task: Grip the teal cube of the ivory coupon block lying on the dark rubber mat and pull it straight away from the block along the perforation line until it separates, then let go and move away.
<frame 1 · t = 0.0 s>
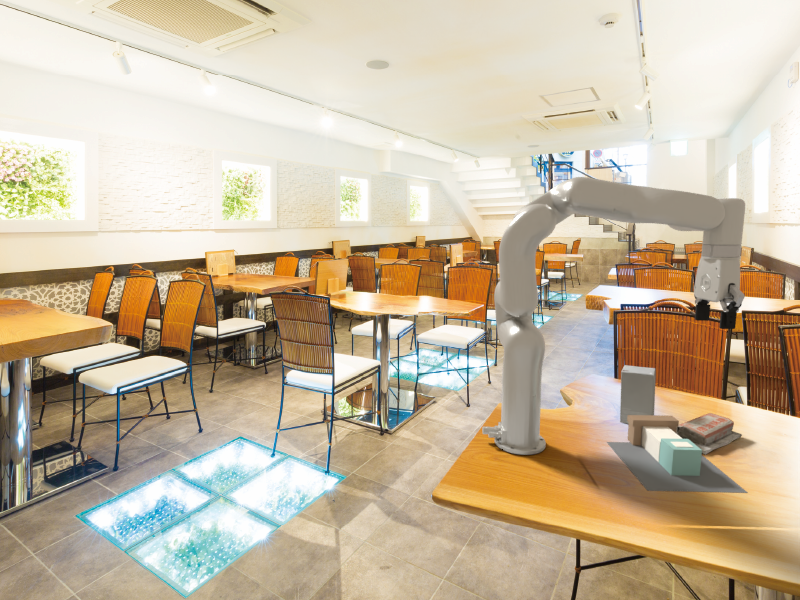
hand: (713, 324, 110), 31 cm above the table, tool pointing down, fingers open, 9 cm apart
mat: (669, 466, 105), on the table
skincare box: (635, 423, 129), on the table
packaged product: (702, 440, 118), on the table, touching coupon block, mat
teal cube: (679, 456, 103), point 3 cm above the table, slide at 0.0 cm
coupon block: (658, 450, 112), resting on mat
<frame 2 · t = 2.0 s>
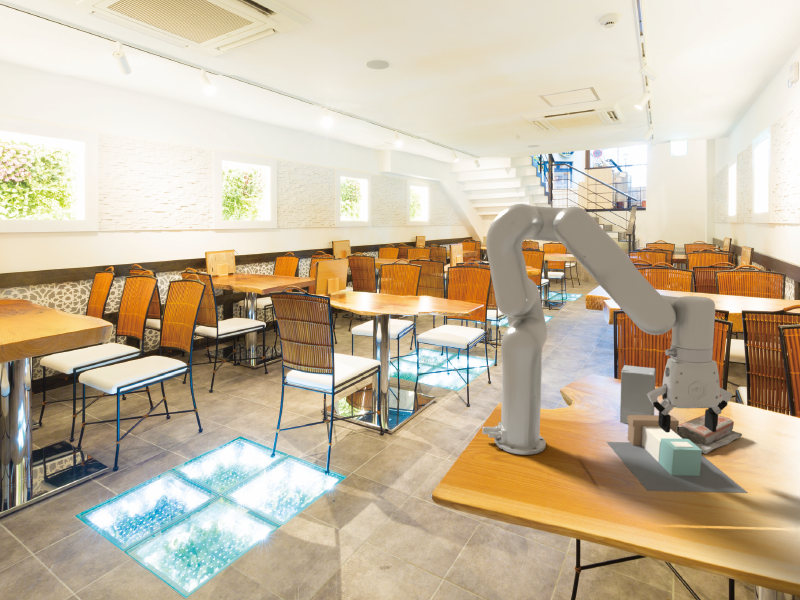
hand: (687, 429, 101), 10 cm above the table, tool pointing down, fingers open, 9 cm apart
packaged product: (703, 439, 118), on the table, touching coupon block, mat
everything else where it was.
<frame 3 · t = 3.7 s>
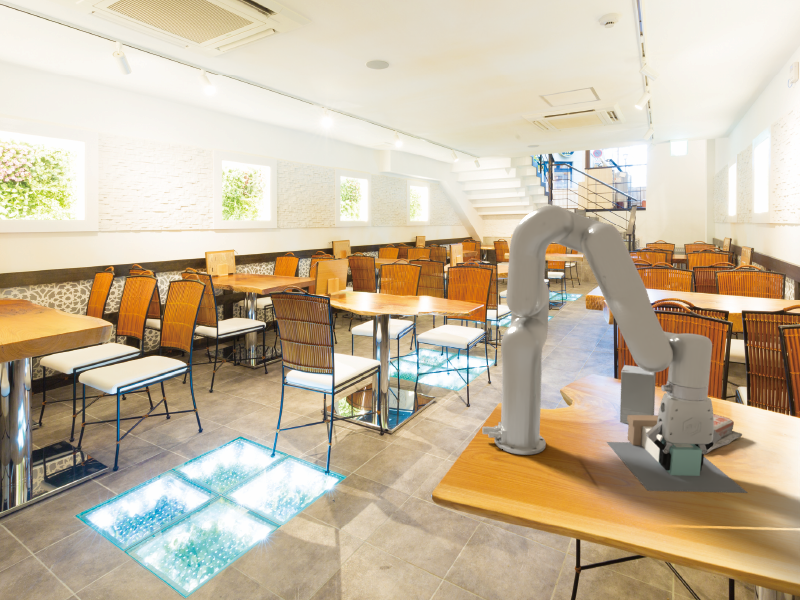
hand: (680, 467, 103), 1 cm above the table, tool pointing down, fingers closed on teal cube, 6 cm apart
teal cube: (679, 456, 103), point 3 cm above the table, slide at 0.0 cm, touching gripper
everything else where it was.
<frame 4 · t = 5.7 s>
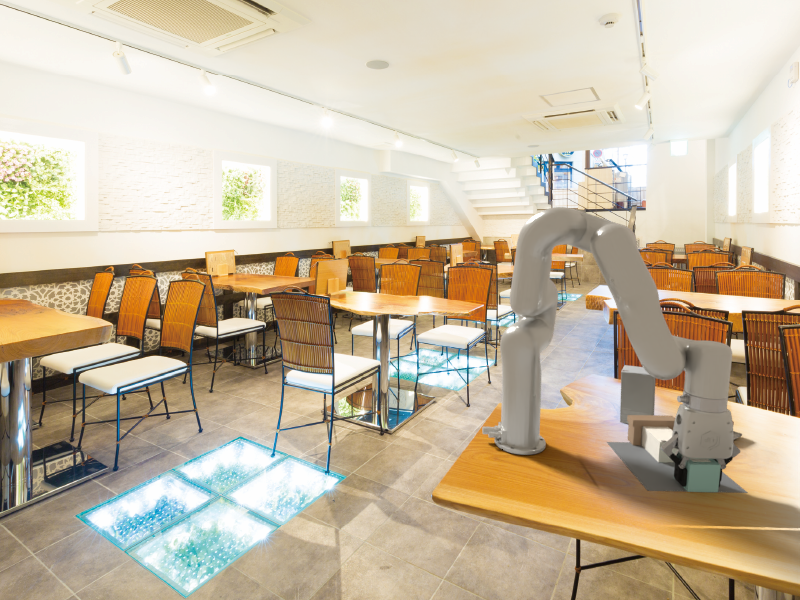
hand: (696, 482, 96), 1 cm above the table, tool pointing down, fingers closed on teal cube, 6 cm apart
teal cube: (696, 471, 97), point 3 cm above the table, slide at 6.4 cm, touching gripper
everything else where it was.
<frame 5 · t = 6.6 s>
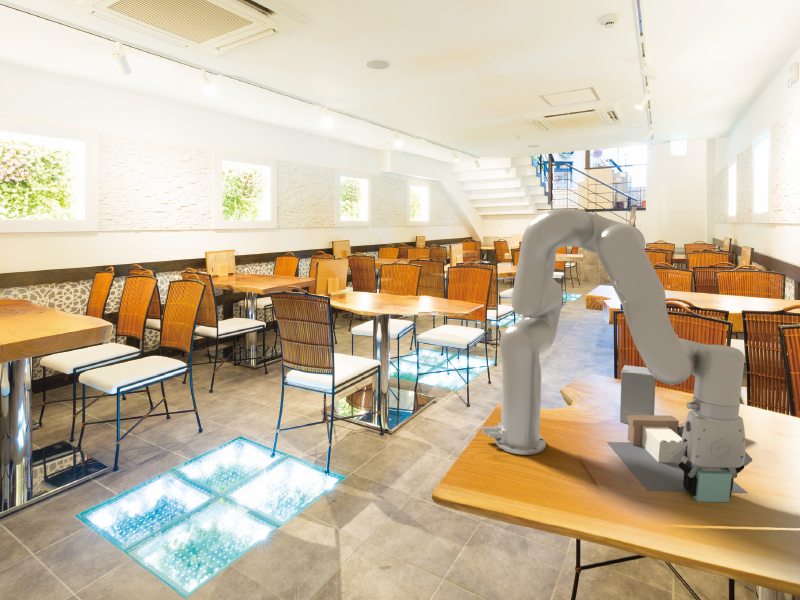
hand: (706, 491, 93), 1 cm above the table, tool pointing down, fingers closed on teal cube, 6 cm apart
teal cube: (706, 480, 93), point 3 cm above the table, slide at 9.9 cm, touching gripper
everything else where it was.
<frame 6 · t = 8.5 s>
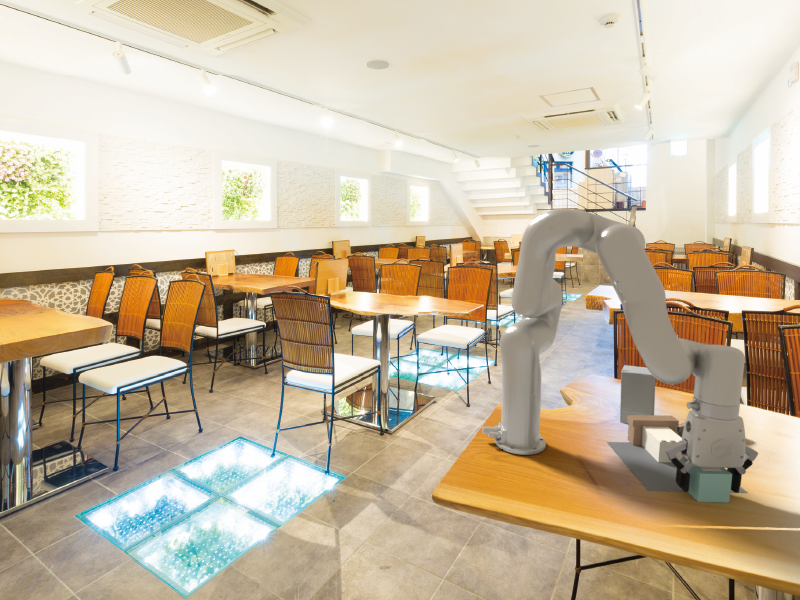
hand: (707, 488, 93), 2 cm above the table, tool pointing down, fingers open, 9 cm apart
teal cube: (706, 480, 93), point 3 cm above the table, slide at 10.0 cm
everything else where it was.
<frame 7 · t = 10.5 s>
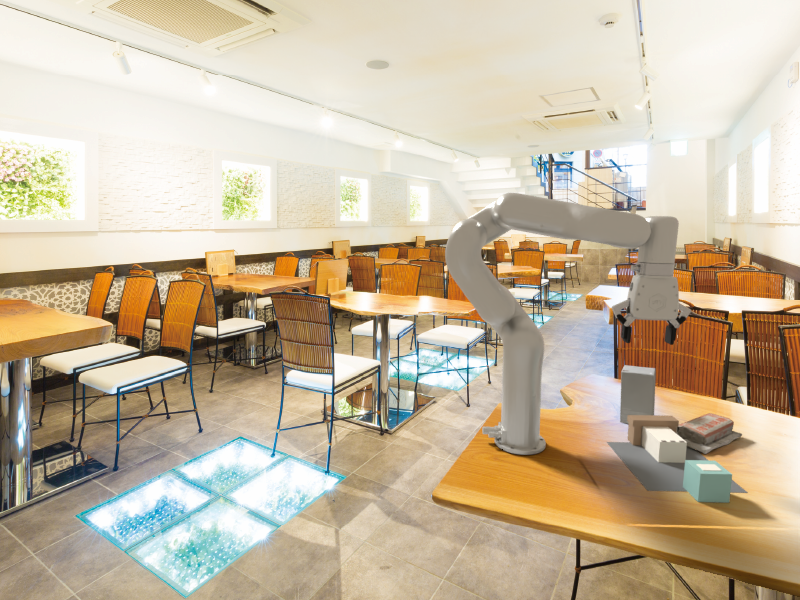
hand: (647, 342, 109), 27 cm above the table, tool pointing down, fingers open, 9 cm apart
nothing on the table moved.
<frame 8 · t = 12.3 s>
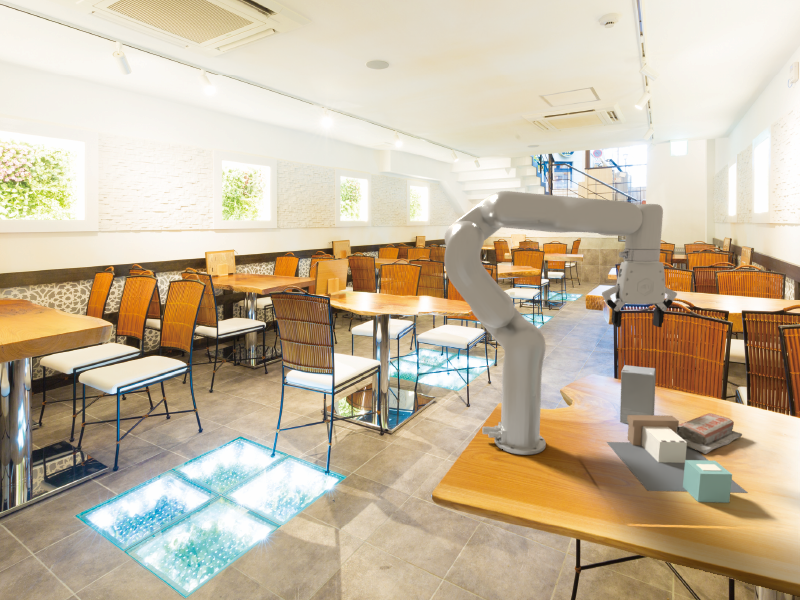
hand: (636, 326, 113), 30 cm above the table, tool pointing down, fingers open, 9 cm apart
nothing on the table moved.
at the end: teal cube slide at 10.0 cm; the gripper is holding nothing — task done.
